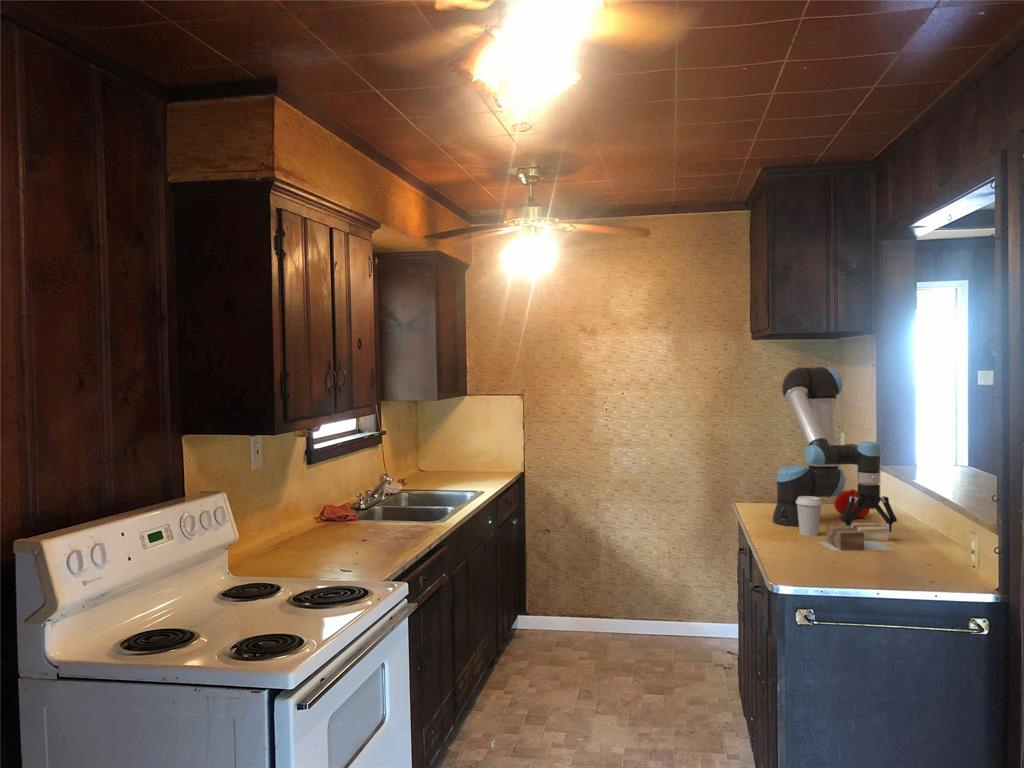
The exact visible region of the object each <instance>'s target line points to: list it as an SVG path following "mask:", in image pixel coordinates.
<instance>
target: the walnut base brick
mask: <svg viewBox="0 0 1024 768" xmlns="http://www.w3.org/2000/svg"><path fill="white" fill-rule="evenodd" d="M826 542H827V543H829V544H831V545H832V546H834V547H836V548H838V549H839V551H865V550H864V533H863V532H861V531H859V530H857V529H854V528H852V527H850V526H846V525H827V526H826Z"/></svg>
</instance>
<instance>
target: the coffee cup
mask: <svg viewBox="0 0 1024 768" xmlns="http://www.w3.org/2000/svg"><path fill="white" fill-rule="evenodd" d="M796 503H797V510H798V521H799V526H798V530H799V534H800V535H801V536H802V535H803V536H806V537H807V536H810V537H811V536H812V537H815V536H819V531H820V530H819V529H820V521H821V511H822V505H823V501H822V500H821V497H813V496H800V497H798V499H797V500H796Z"/></svg>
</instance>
